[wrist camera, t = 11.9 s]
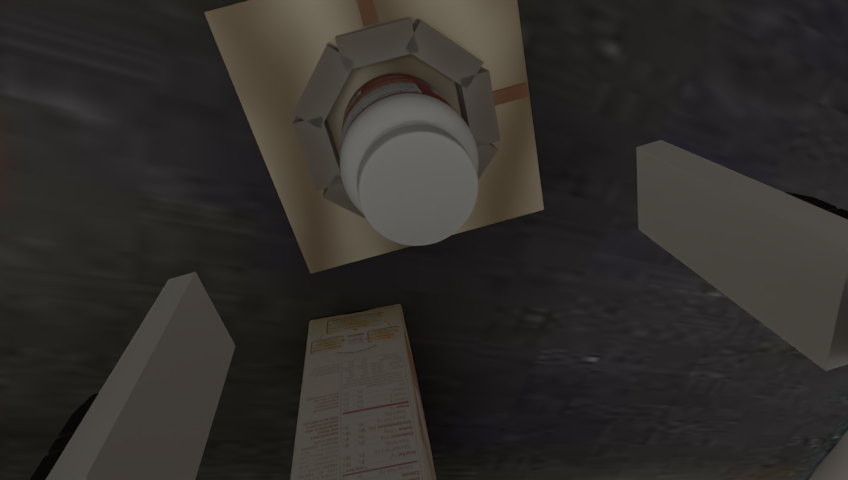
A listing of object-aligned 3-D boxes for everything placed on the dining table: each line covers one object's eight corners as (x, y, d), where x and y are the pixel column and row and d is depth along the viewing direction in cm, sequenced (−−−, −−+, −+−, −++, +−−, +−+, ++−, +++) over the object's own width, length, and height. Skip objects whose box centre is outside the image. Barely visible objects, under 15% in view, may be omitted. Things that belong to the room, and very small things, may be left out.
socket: (311, 266, 33) (308, 290, 30) (209, 11, 25) (192, 13, 23) (538, 203, 33) (555, 221, 30) (503, -66, 26) (520, -74, 23)
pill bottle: (457, 161, 30) (510, 241, 20) (360, 188, 30) (365, 281, 20) (434, 57, 27) (483, 90, 17) (327, 86, 27) (314, 137, 17)
